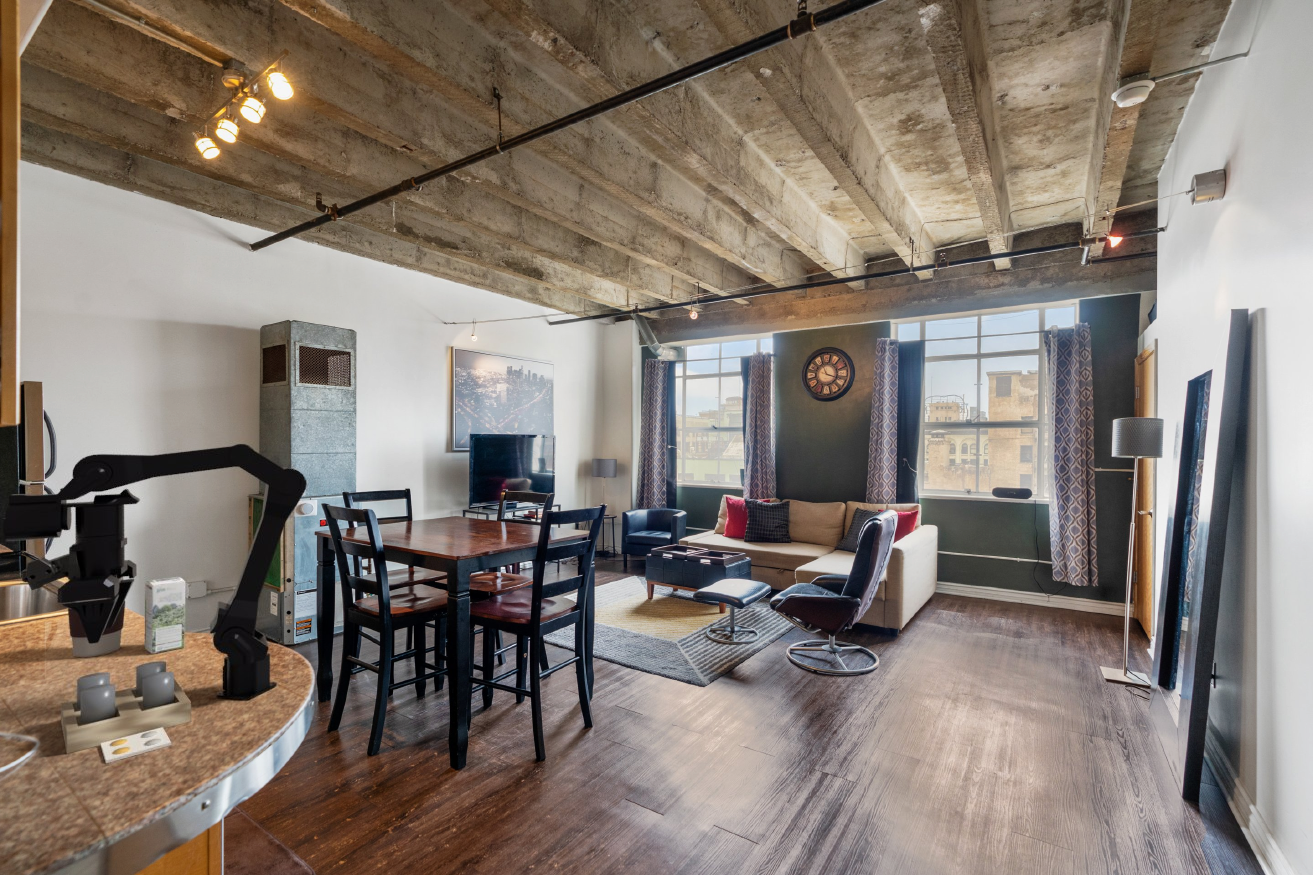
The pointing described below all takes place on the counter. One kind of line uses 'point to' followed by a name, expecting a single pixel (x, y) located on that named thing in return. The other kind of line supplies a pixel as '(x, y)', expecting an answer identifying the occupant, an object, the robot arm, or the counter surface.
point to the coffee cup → (107, 641)
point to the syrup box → (164, 614)
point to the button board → (122, 719)
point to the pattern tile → (134, 744)
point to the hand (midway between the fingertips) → (101, 635)
